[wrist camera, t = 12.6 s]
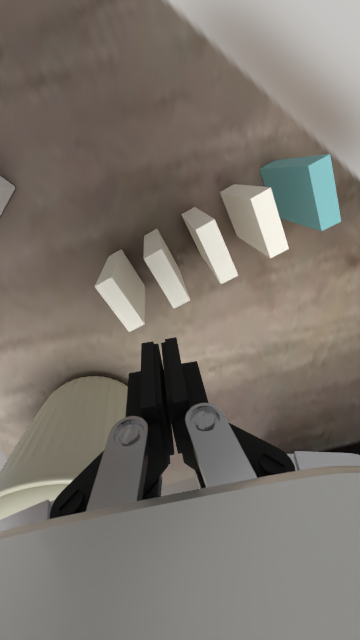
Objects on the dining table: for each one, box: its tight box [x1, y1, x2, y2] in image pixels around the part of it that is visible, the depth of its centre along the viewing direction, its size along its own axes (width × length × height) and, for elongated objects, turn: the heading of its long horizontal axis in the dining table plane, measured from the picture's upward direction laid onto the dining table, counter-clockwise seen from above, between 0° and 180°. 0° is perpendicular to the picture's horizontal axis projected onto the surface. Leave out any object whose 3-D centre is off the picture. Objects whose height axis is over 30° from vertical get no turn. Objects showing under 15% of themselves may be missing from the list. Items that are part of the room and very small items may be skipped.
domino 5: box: [260, 154, 341, 231], centre depth 23 cm, size 5×2×9 cm, turn 27°
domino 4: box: [220, 184, 289, 258], centre depth 24 cm, size 5×2×9 cm, turn 27°
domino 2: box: [144, 229, 190, 309], centre depth 25 cm, size 5×2×9 cm, turn 27°
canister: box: [0, 376, 128, 520], centre depth 30 cm, size 18×18×21 cm
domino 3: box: [181, 207, 238, 284], centre depth 24 cm, size 5×2×9 cm, turn 27°
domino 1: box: [95, 249, 145, 332], centre depth 26 cm, size 5×2×9 cm, turn 27°
